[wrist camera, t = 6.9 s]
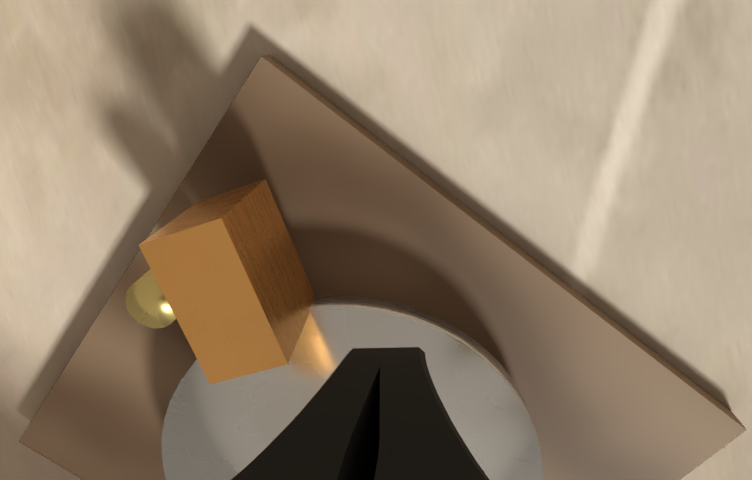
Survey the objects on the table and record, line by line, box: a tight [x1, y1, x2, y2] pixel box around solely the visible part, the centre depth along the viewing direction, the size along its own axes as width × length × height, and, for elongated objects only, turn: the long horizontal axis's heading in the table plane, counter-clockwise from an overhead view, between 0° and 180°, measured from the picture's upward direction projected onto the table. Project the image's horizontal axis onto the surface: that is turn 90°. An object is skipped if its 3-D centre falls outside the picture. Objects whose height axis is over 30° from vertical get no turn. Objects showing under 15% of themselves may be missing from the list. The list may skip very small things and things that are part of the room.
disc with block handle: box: [139, 179, 543, 480], centre depth 18 cm, size 18×14×4 cm
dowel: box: [125, 269, 176, 328], centre depth 18 cm, size 2×2×4 cm
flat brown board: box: [19, 55, 746, 480], centre depth 22 cm, size 20×22×2 cm
